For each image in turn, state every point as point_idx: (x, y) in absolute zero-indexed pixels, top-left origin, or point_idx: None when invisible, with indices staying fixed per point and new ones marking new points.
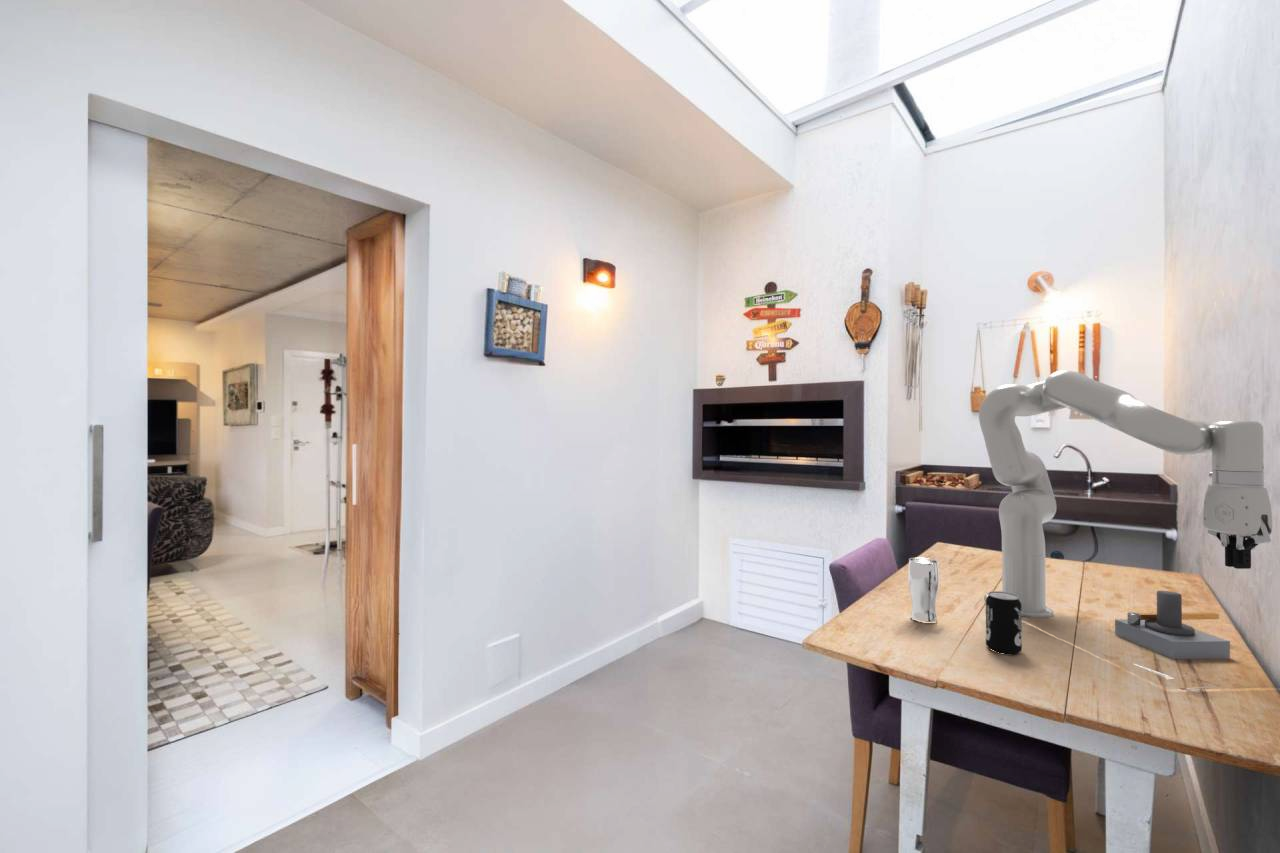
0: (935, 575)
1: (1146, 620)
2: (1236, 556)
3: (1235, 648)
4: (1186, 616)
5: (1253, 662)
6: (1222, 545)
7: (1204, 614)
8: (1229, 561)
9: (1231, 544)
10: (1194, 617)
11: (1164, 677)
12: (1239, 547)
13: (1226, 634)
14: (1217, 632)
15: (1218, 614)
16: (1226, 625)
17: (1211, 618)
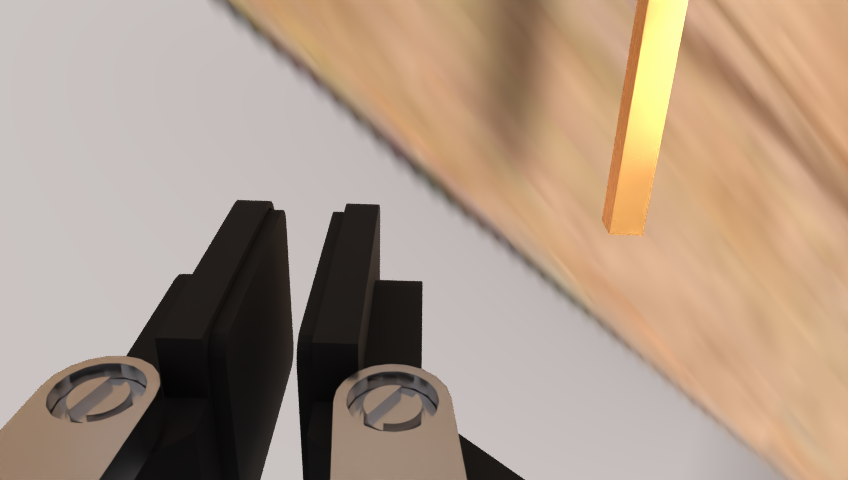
0: None
1: None
2: (196, 278)
3: (503, 172)
4: (640, 14)
5: (333, 68)
6: (424, 378)
7: (624, 146)
8: (329, 242)
9: (314, 457)
10: (630, 72)
11: None
12: (114, 395)
13: (661, 313)
14: (692, 301)
15: (607, 229)
16: (751, 420)
17: (610, 179)
